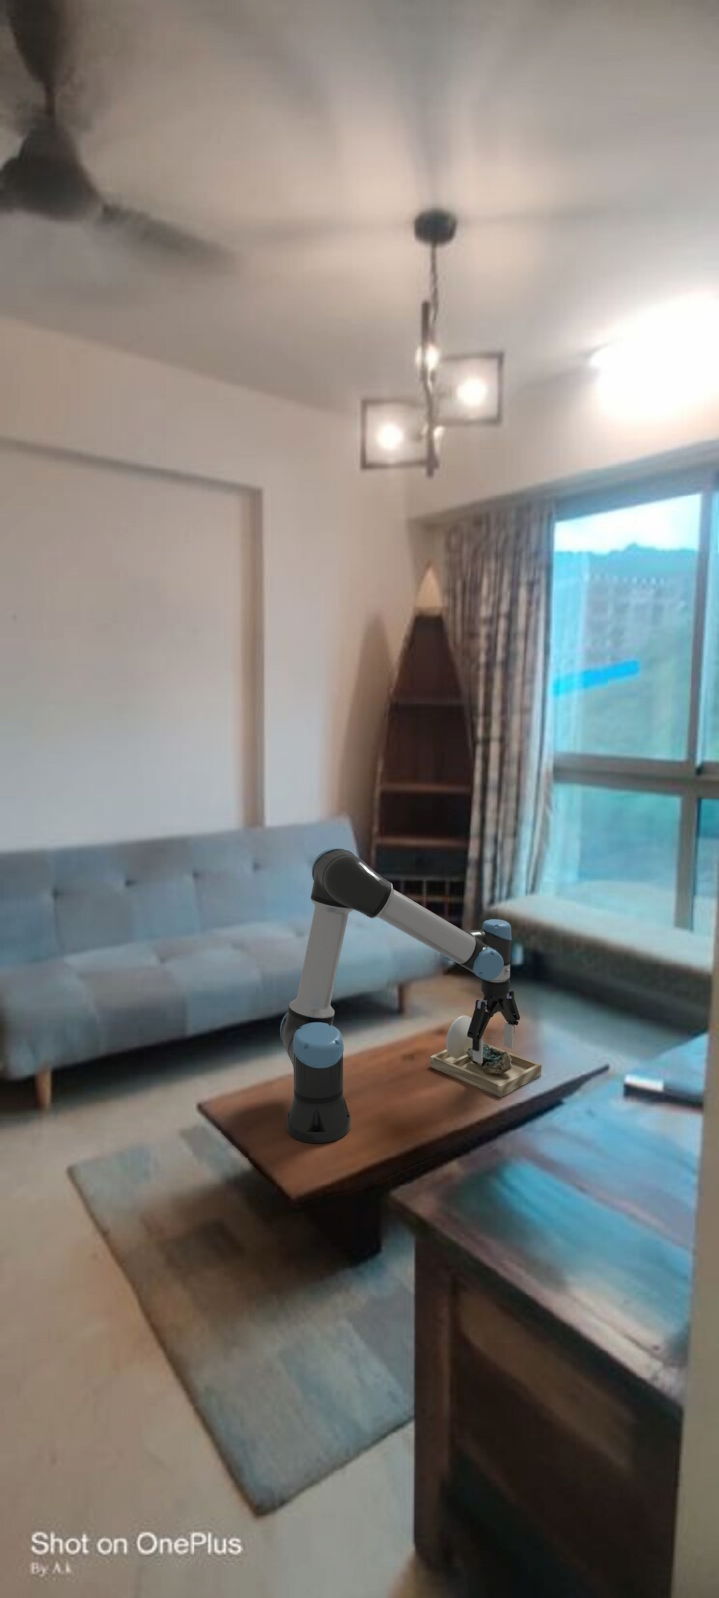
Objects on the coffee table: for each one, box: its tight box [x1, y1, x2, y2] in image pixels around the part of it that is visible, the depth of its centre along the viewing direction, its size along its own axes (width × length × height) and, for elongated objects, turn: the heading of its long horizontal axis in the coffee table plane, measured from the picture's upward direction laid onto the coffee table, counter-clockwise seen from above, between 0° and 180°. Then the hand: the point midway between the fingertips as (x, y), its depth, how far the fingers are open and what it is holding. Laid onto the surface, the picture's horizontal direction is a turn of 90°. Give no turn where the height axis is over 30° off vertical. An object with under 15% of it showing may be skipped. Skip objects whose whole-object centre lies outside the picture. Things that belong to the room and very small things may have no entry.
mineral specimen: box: [466, 1042, 512, 1074], centre depth 215 cm, size 12×9×8 cm
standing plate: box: [445, 1014, 473, 1059], centre depth 222 cm, size 12×1×12 cm, turn 133°
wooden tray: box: [429, 1041, 542, 1098], centre depth 216 cm, size 18×24×3 cm
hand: (493, 1054), depth 214 cm, fingers open, 13 cm apart
